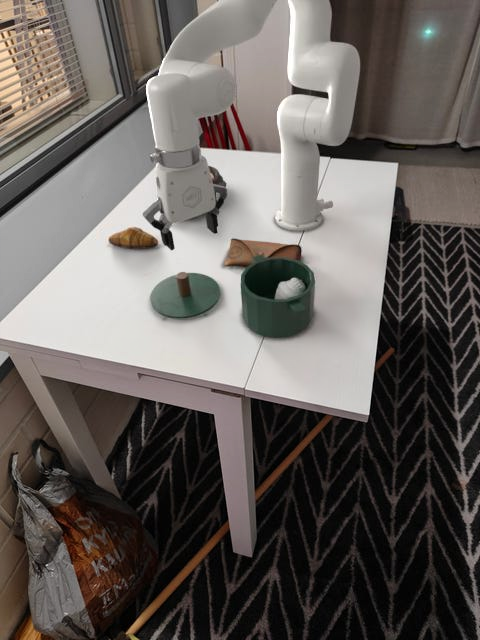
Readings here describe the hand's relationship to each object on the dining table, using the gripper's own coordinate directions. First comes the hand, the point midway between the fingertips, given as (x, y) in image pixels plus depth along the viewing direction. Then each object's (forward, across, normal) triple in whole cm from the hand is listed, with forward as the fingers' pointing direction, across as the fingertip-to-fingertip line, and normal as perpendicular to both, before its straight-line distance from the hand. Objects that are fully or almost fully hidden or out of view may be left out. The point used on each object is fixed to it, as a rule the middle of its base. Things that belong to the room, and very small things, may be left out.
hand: (191, 238), depth 92 cm
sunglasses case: (+16, +20, +4) cm, 26 cm away
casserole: (+16, +21, +41) cm, 49 cm away
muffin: (+14, +12, -14) cm, 23 cm away
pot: (+16, +11, -14) cm, 24 cm away
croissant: (+16, -3, +31) cm, 35 cm away
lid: (+15, -2, +3) cm, 16 cm away
